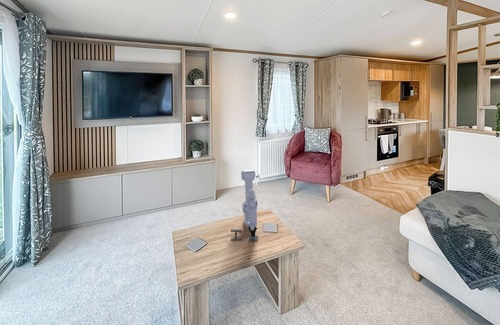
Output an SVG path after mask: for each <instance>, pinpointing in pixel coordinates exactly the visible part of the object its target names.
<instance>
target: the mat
mask: <svg viewBox="0 0 500 325" xmlns="http://www.w3.org/2000/svg"><path fill="white" fill-rule="evenodd" d="M248 242H259V235H255V238H251V235H249V236H248Z"/></svg>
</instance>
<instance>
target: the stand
mask: <svg viewBox="0 0 500 325" xmlns="http://www.w3.org/2000/svg"><path fill="white" fill-rule="evenodd" d="M230 233H234V234H233V235H231V236H230V241H242V235H241V234H240V235H239V234H238V233H242V229H239V228H235V229H234V228H231V229H230Z"/></svg>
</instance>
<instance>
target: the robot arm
mask: <svg viewBox="0 0 500 325" xmlns="http://www.w3.org/2000/svg"><path fill="white" fill-rule="evenodd" d="M240 175H241V181H244V185H245V186H244V187H245V188H244V189H245V192H244V194H245V200H244V201H243V202H242V203H241V204H242V213H243V215H244V216H243V220H242V222H243V223H244V225H245V227H247V226H249V227H248V231H249V233H250V236H251V237H255V236H256V232H257V230H258V227H257V225H258V212H257V210H258V200H257V197H256V191H255V189H254V188H253V187H254V186H253V181H255V178H256V171H255V170H254V169H250V170H249V169H248V170H241V173H240ZM254 227H255V228H254Z"/></svg>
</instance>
